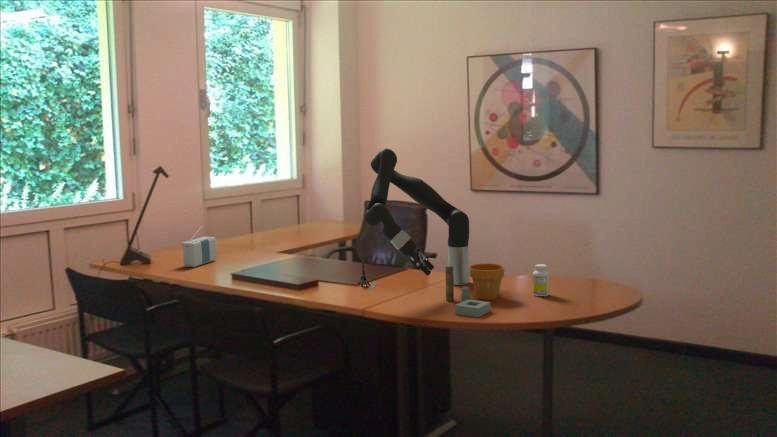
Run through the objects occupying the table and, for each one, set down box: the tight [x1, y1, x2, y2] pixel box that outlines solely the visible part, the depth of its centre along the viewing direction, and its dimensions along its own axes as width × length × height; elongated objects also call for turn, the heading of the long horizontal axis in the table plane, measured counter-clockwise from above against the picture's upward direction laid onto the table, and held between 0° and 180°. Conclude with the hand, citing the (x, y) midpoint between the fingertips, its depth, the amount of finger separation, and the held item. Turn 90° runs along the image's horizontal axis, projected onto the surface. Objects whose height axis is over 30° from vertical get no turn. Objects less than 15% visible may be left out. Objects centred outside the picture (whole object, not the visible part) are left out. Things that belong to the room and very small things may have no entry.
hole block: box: [454, 299, 491, 318], centre depth 288 cm, size 10×10×4 cm
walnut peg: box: [445, 265, 455, 302], centre depth 307 cm, size 3×3×14 cm
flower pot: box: [469, 263, 505, 301], centre depth 310 cm, size 14×14×13 cm
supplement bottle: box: [532, 263, 550, 297], centre depth 312 cm, size 7×7×13 cm
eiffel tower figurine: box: [357, 260, 379, 291], centre depth 336 cm, size 15×10×13 cm
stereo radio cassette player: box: [181, 224, 218, 268], centre depth 396 cm, size 21×8×20 cm, turn 159°
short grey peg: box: [461, 286, 471, 302], centre depth 300 cm, size 3×3×7 cm
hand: (431, 271), depth 308 cm, fingers open, 8 cm apart
